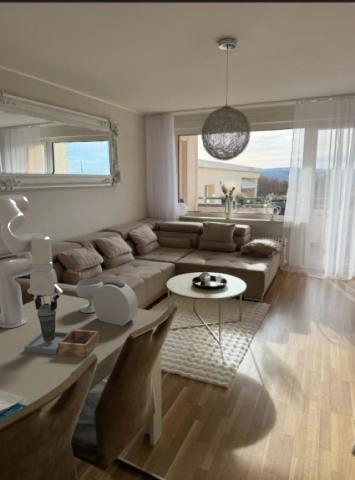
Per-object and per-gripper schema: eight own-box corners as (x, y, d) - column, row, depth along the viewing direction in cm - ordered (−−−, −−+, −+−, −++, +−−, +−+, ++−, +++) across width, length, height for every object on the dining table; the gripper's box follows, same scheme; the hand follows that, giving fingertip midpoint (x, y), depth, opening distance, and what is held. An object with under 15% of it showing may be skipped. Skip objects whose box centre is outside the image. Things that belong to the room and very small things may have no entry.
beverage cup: (52, 344, 135) (48, 297, 132) (36, 342, 137) (31, 296, 133) (61, 335, 142) (58, 291, 138) (46, 334, 144) (42, 290, 140)
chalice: (72, 312, 172) (69, 284, 169) (88, 302, 185) (86, 276, 182) (95, 315, 168) (93, 287, 165) (109, 305, 181) (108, 279, 178)
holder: (58, 354, 132) (57, 343, 131) (73, 340, 143) (72, 329, 142) (87, 357, 130) (86, 345, 129) (99, 342, 141) (99, 331, 140)
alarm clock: (138, 320, 161) (137, 281, 158) (130, 327, 155) (128, 286, 151) (103, 313, 170) (101, 276, 166) (93, 319, 164) (91, 280, 160)
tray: (24, 351, 135) (24, 346, 134) (44, 335, 148) (43, 330, 148) (56, 354, 132) (55, 349, 132) (73, 337, 146) (73, 332, 145)
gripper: (17, 268, 131) (21, 311, 135) (57, 270, 128) (61, 314, 132) (29, 263, 139) (33, 304, 142) (67, 265, 136) (70, 306, 139)
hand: (46, 308), depth 137 cm, fingers closed on beverage cup, 6 cm apart
